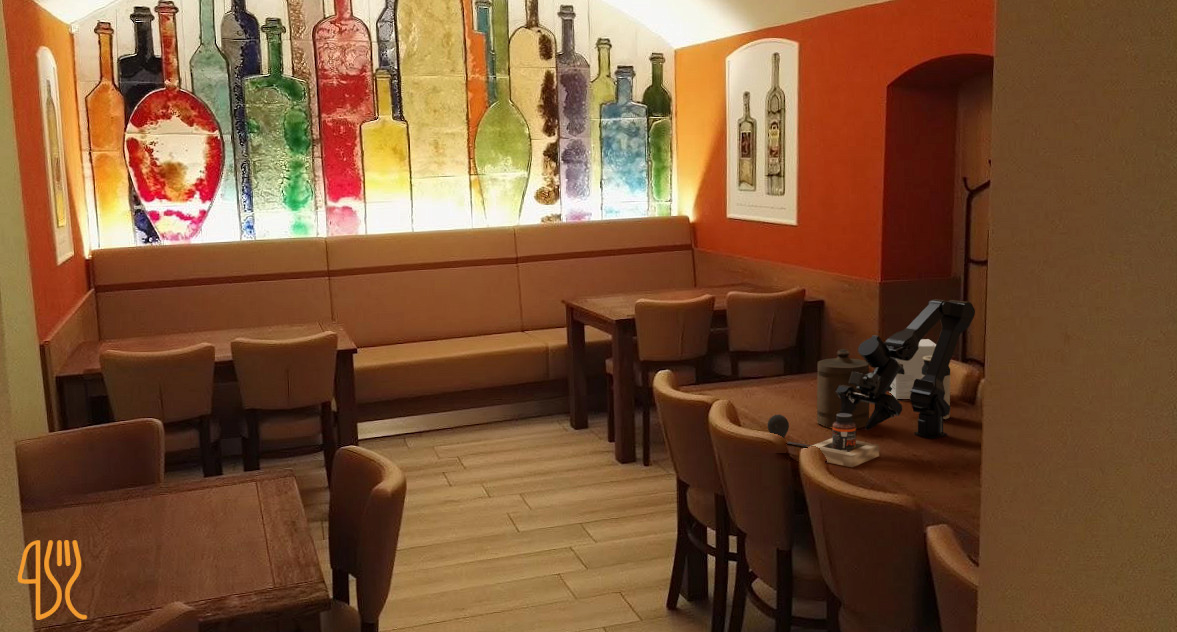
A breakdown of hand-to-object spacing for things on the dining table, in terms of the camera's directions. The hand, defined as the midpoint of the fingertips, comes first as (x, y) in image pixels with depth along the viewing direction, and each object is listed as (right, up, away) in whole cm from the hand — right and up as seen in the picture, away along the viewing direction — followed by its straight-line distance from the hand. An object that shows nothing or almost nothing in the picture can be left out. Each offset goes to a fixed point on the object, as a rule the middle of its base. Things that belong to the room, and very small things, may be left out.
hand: (852, 426), depth 267 cm
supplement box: (+36, +3, +65) cm, 74 cm away
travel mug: (+34, -2, +36) cm, 50 cm away
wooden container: (+6, -3, +33) cm, 34 cm away
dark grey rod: (-11, -7, +10) cm, 16 cm away
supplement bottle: (-2, -8, -1) cm, 9 cm away
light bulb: (-18, -8, +7) cm, 21 cm away
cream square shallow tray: (-3, -8, -1) cm, 8 cm away
